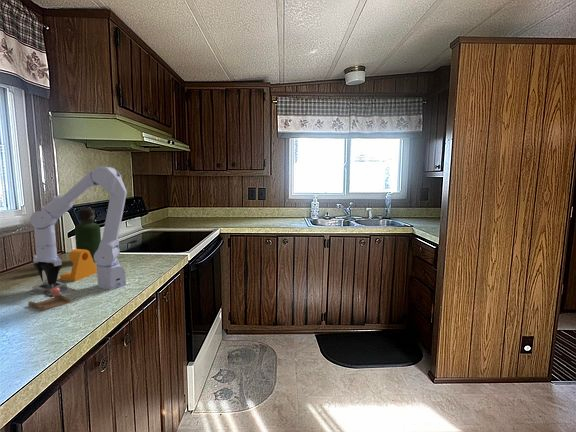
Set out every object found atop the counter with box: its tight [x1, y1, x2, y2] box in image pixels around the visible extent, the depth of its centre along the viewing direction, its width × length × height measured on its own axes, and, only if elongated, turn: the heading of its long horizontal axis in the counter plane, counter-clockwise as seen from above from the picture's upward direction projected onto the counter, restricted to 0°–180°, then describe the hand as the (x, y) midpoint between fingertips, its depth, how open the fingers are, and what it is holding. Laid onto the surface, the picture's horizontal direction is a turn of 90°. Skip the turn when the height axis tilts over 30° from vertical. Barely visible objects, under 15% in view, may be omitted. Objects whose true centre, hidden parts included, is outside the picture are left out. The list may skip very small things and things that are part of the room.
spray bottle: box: [74, 207, 102, 262], centre depth 155 cm, size 10×10×25 cm
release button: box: [50, 287, 61, 296], centre depth 110 cm, size 2×2×2 cm
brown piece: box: [27, 294, 71, 312], centre depth 102 cm, size 8×8×2 cm
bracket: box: [59, 248, 97, 282], centre depth 129 cm, size 11×7×12 cm, turn 169°
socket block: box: [31, 280, 77, 299], centre depth 114 cm, size 14×8×2 cm, turn 61°
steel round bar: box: [42, 269, 56, 289], centre depth 115 cm, size 4×4×7 cm
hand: (49, 282), depth 115 cm, fingers closed on steel round bar, 4 cm apart
